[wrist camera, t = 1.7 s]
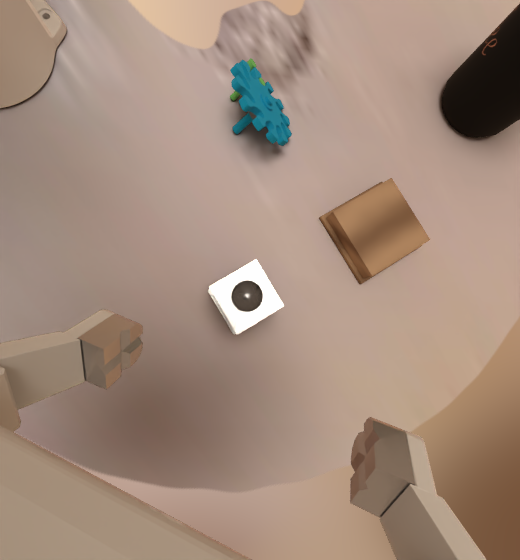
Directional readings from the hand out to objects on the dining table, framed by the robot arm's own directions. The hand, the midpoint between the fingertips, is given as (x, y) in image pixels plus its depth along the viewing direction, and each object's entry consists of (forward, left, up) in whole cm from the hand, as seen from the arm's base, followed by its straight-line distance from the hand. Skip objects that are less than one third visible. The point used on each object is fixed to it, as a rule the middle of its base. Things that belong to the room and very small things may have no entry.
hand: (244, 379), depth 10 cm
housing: (-3, +3, -25) cm, 25 cm away
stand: (-2, +22, -25) cm, 33 cm away
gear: (-22, +17, -25) cm, 37 cm away
